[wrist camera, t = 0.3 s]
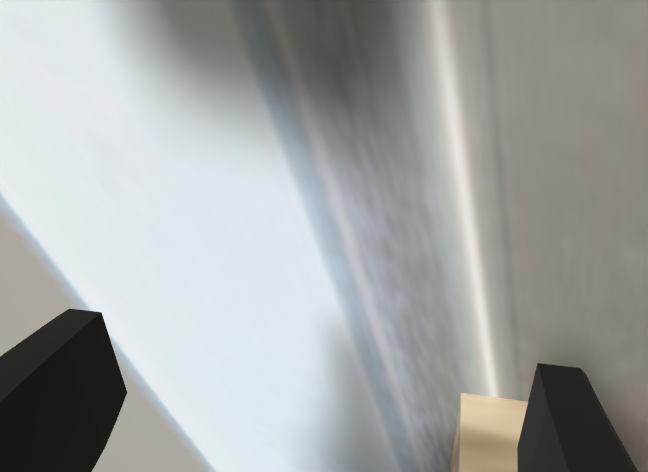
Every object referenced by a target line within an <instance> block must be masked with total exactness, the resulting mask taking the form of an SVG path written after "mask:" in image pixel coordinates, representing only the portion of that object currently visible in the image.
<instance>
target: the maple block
mask: <svg viewBox="0 0 648 472" xmlns="http://www.w3.org/2000/svg"><path fill="white" fill-rule="evenodd" d="M527 405H528V402H526V401H518V400H511V399H503V398H496V397H488V396H481V395H473V394H466V393H461V396H460V402H459V409H458V415H457V421H456V427H455V433H454V439H453V446H452V452H451V471H450V472H518V464H517V446H518V442H519V438H520V434H521V430H522V426H523V422H524V418H525V413H526V409H527Z"/></svg>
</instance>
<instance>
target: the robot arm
mask: <svg viewBox="0 0 648 472" xmlns="http://www.w3.org/2000/svg"><path fill="white" fill-rule="evenodd" d="M126 394H127V391H126V387H125V384H124V381H123V378H122V375H121V372H120V369H119V366H118V363H117V360H116V356H115V353H114V350H113V347H112V344H111V341H110V338H109V335H108V332H107V329H106V326H105V322H104V319H103V316H102V313H101V312H93V311H84V310H76V309H68V310H67V311H65V312H64V313H62V314H60V315H59V316H57V317H56V318H55V319H53V320H51V321H50V322H49V323H47V324H46V325H44V326H43V327H41V328H40V329H39V330H37V331H36V332H34V333H33V334H32V335H30V336H29V337H27V338H26V339H25V340H23V341H22V342H20V343H19V344H17V345H16V346H15V347H13V348H12V349H10V350H9V351H8V352H6V353H5V354H3V355H2V356H1V357H0V472H92V470H93V468H94V466H95V465H96V463H97V461H98V459H99V457H100V455H101V453H102V452H103V450H104V448H105V446H106V444H107V441H108V439H109V437H110V434H111V432H112V429H113V427H114V425H115V423H116V420H117V417H118V415H119V412H120V410H121V407H122V405H123V402H124V399H125V396H126ZM517 464H518V472H638V471H637V469H636V467H635V466H634V464H633V462H632V461H631V459H630V457H629V455H628V454H627V452H626V450H625V448H624V446H623V445H622V443H621V441H620V439H619V437H618V436H617V434H616V432H615V430H614V428H613V427H612V425H611V423H610V421H609V419H608V417H607V415H606V414H605V412H604V410H603V408H602V406H601V404H600V402H599V400H598V398H597V396H596V394H595V392H594V390H593V388H592V386H591V384H590V382H589V380H588V378H587V376H586V374H585V373H584V372H583V371H582V370H581V369H580V368H573V367H565V366H556V365H548V364H539V363H538V364H537V368H536V372H535V376H534V380H533V385H532V389H531V393H530V397H529V401H528V405H527V409H526V413H525V418H524V422H523V426H522V430H521V434H520V438H519V442H518V446H517Z"/></svg>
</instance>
